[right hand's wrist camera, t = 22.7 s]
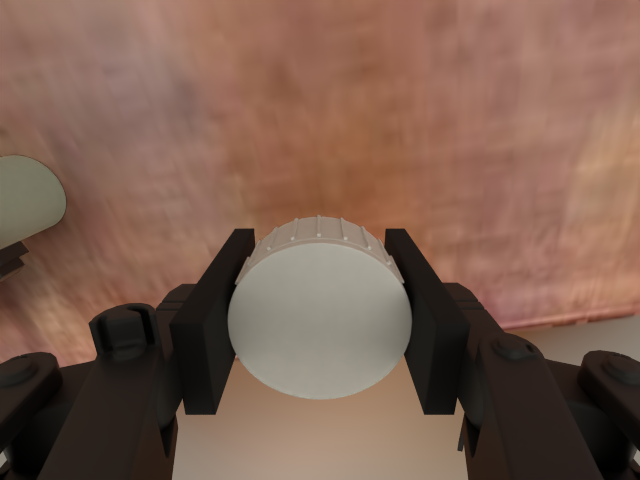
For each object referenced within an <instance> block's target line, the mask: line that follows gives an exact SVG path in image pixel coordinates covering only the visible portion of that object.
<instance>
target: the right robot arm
mask: <svg viewBox="0 0 640 480" xmlns="http://www.w3.org/2000/svg"><path fill="white" fill-rule="evenodd" d="M384 248H385V250H386V252H387V253H388V255H389V256H392V258H393V260H394V262H395V264H396V266H397V268H398V270H399V272H400V274H401V276H402V278H403V280H404V283H402V285H403V287H404V289H405V291H406V294H407V296H408V299H409V302H410V306H411V310H412V328H411V336H410V340H409V343H408V346H407V348H406V351H405V352H404V356H405V359H406V362H407V365H408V368H409V371H410V374H411V377H412V380H413V383H414V386H415V389H416V392H417V395H418V397H419V400H420V403H421V406H422V409H423V412H424V415H454V412H455V407H456V402H457V397H458V399H459V401H460V403H461V405H462V408H463V410H464V412H465V413H464V418H463V423H462V428H461V433H460V438H459V443H458V451H462V450H463V445H464V448H465V456H466V464H467V472H468V480H640V466H639V465H638V463H637V462H636V461H635V460H634V459H633V458H634V456H635V453H636V451H637V449H638V450H639V451H640V362H638V361H636V360H634V359H632V358H630V357H629V356H626V355H623V354H619V353H615V352H609V351H601V350H598V351H590V352H588V353H587V354H586V355H584V358H583V361H582V364H581V366H576V365H571V364H566V363H562V362H557V361H552V360H548V359H545V358H544V356H543V354H542V353H541V352H540V350H539V349H538V348H537V347H536V346H535V345H533V344H532V343H530V342H529V341H528V340H526V339H523V338H521V337H519V336H517V335H513V334H509V333H505V332H504V331H503V330H502V329H501V327H500V326H499V325H498V324H497V322H496V321H495V320H494V319H493V318H492V316H491V315H490V314H489V313H488V311H487V310H484V307H483V305H482V304H481V303H480V302H478V299H477V298H476V297H475V296H474V294H473V293H472V292H471V291H470V290H469V289H467V288H465V287H464V286H462V285H460V284H459V283H442V282H441V280H440V279H439V278H438V276H437V275H436V273H435V272H434V270H433V269H432V267H431V266H430V265H429V263H428V262H427V260H426V259H425V257H424V256H423V255H422V253H421V252H420V250H419V249H418V247H417V246H416V244H415V243H414V242H413V240H412V239H411V237H410V236H409V234H408V233H407V232H406V230H405V229H386V232H385V246H384ZM254 249H255V235H254V229H235V230H234V231H233V233H232V234H231V236H230V237H229V238H228V240H227V241H226V243H225V244H224V246H223V247H222V248H221V250H220V251H219V253H218V254H217V256H216V257H215V259H214V260H213V261H212V263H211V264H210V266H209V267H208V269H207V270H206V271H205V273H204V274H203V276H202V277H201V279H200V280H199V281H198V283H197V284H181V285H180V286H178V287H177V288H175V289H173V290H172V291H170V292H169V293H168V294H167V296H166V297H165V298H164V299H163V301H162V303H160V304H159V305H158V307H157V308H156V311H155V309H154V308H153V307H152V306H150V305H148V304H143V303H129V304H124V305H120V306H116V307H113V308H111V309H108V310H105V311H104V312H102V313H100V314H99V315H97V316H95V317H94V318H93V319H92V320H91V321H90V323H89V327H90V330H91V334H92V337H93V341H94V344H95V348H96V351H97V357H96V359H95V360H94V361H90V362H86V363H81V364H76V365H71V366H67V367H62V368H60V367H59V365H58V362H57V359H56V357H55V356H54V355H52V354H51V353H46V352H36V353H29V354H24V355H21V356H17V357H14V358H11V359H9V360H8V361H6V362H3V363H1V364H0V454H1V453H2V451H3V452H4V454H5V456H6V458H7V461H6V462H5V463H4V464H3V465H2V467H1V468H0V480H172V473H173V465H174V457H175V449H176V441H177V433H178V424H177V418H176V411H177V409H178V407H179V405H180V403H181V400H182V398H183V403H184V408H185V414H186V415H215V414H216V412H217V409H218V405H219V403H220V400H221V397H222V394H223V391H224V388H225V385H226V382H227V379H228V376H229V373H230V370H231V367H232V364H233V361H234V359H235V356H236V353H235V351H234V349H233V347H232V344H231V340H230V337H229V330H228V310H229V304H230V301H231V298H232V295H233V293H234V291H235V289H236V286H237V285H236V284H235V282H236V280H237V278H238V276H239V274H240V272H241V269H242V267H243V265H244V263H245V261H246V259H247V257H251V255H252V253H253V251H254Z"/></svg>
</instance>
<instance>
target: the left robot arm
mask: <svg viewBox="0 0 640 480" xmlns="http://www.w3.org/2000/svg"><path fill="white" fill-rule="evenodd" d="M27 252H29V251H28V250H27V248H26V247H25V246H24V245H23V243H22V242H21V241H18V242H16V243H14V244H11V245H9V246H7V247H5V248H3V249H0V282H1V281H3V280H5V279H7V278H8V277H10V276H12V275H14V274H16V273H17V272H19V271H20V270H21V269H22V268H23V266H24V265H25V264H24V263H23V262H22V261H21V259H20V258H19V257H20V256H22V255H24V254H25V253H27Z"/></svg>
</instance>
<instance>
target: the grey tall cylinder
mask: <svg viewBox="0 0 640 480" xmlns="http://www.w3.org/2000/svg"><path fill="white" fill-rule="evenodd" d="M65 210H66V196H65V192H64V189H63V187H62V185H61V183H60V181H59V180H58V179H57V177H56V176H55V175H54V174H53V172H51V171H50V170H49V169H48V168H47V167H46V166H44V165H43V164H41V163H40V162H38V161H36V160H34V159H31V158H29V157H25V156H20V155H10V156H4V157H0V249H3V248H5V247H7V246H9V245H11V244H14V243H16V242H18V241H21V240H23V239H25V238H27V237H30V236H32V235H34V234H36V233H38V232H41V231H43V230H45V229H47V228H49V227H51V226H54V225H55V224H57V223H58V222H59V221H60V220H61V218H62V217H63V215H64V213H65Z"/></svg>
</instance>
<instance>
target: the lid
mask: <svg viewBox="0 0 640 480" xmlns="http://www.w3.org/2000/svg"><path fill="white" fill-rule="evenodd" d="M402 283H404V280H403V278H402V276H401V274H400V272H399V270H398V268H397V266H396V264H395V262H394V260H393V258H392V256H389V255H388V253H387V252H386V250H385V248H384V246H383V244H382V242H381V240H380V239H378V240H377V239H376V238H375V237H374V236H373V235H372V234H370V233H369V232H367V231H366V230H365V228H364V227H363V226H361V227H359V226H357V225H355V224H353V223H351V222H348V221H345V220H344V218H340V219H337V218H332V217H321V215H317V217H308V218H302V219H298V218H295V219H294V221H291V222H289V223H287V224H284V225H282V226H280V227H279V228H278V227H277V226H276V227H275V228H274V230H273V231H272V232H271V233H270V234H268V235H267V236H266V237H265V238H264V239H263V240H262V241H261V240H259V241H258V242H257V244H256V247H255V249H254V251H253V253H252V255H251V257H247V259H246V261H245V263H244V265H243V267H242V269H241V272H240V274H239V276H238V278H237V280H236V282H235V284H236V285H237V286H236V289H235V291H234V293H233V295H232V298H231V301H230V304H229V310H228V330H229V337H230V340H231V344H232V347H233V349H234V351H235V353H236V355H237V356H238V358H239V360H240V361H241V363H242V364H243V365H244V366H245V367H246V369H247V370H248V371H249V372H250V373H251V374H252V375H254V376H255V377H256V378H257V379H258V380H260V381H261V382H263V383H264V384H266V385H267V386H269V387H271V388H273V389H275V390H277V391H280V392H282V393H285V394H288V395H291V396H295V397H300V398H306V399H333V398H340V397H344V396H349V395H352V394H355V393H358V392H360V391H362V390H365V389H367V388H369V387H371V386H372V385H374V384H375V383H377V382H379V381H380V380H381V379H382V378H384V377H385V376H386V375H387V374H388V373H389V372H390V371H391V370H392V369H393V368H394V367H395V366H396V365H397V363H398V362H399V361H400V359H401V358H402V356H403V354H404V352H405V351H406V348H407V346H408V343H409V340H410V336H411V328H412V310H411V306H410V302H409V299H408V296H407V294H406V291H405V289H404V287H403V285H402Z"/></svg>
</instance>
